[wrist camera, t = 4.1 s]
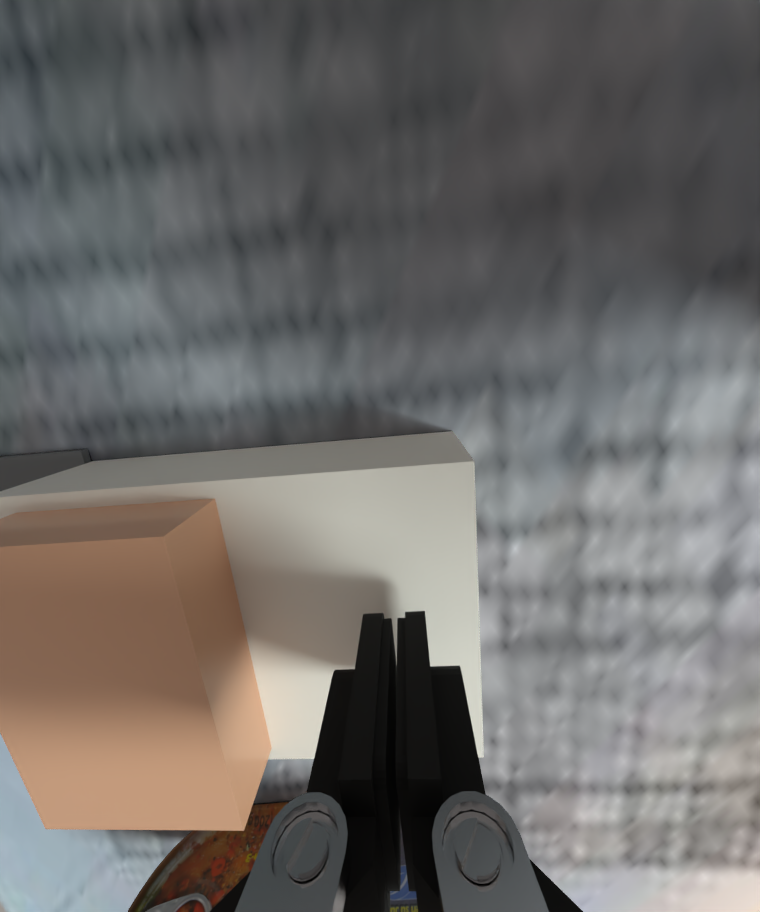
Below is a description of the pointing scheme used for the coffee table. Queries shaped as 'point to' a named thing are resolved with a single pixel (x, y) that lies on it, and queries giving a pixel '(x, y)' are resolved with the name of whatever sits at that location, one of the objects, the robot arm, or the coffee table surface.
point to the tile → (128, 669)
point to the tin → (224, 868)
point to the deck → (318, 553)
